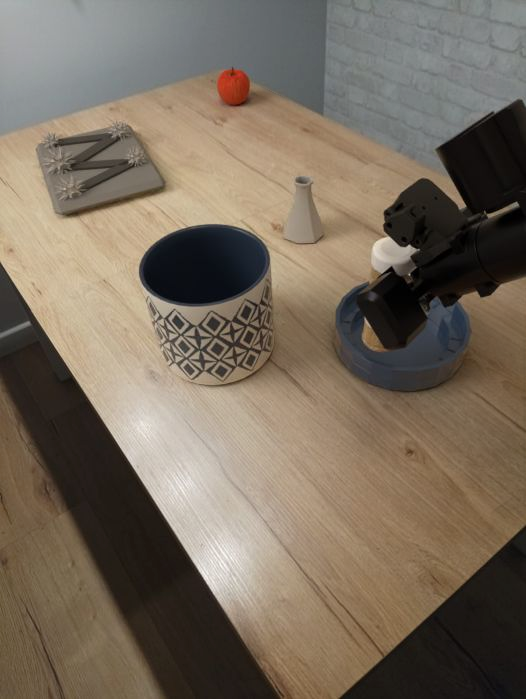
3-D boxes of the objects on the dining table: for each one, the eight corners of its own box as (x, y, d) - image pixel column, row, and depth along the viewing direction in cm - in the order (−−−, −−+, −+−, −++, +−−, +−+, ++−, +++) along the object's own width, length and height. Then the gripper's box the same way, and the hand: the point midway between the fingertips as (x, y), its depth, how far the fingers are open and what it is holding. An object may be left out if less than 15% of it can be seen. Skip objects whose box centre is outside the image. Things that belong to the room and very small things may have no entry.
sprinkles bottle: (357, 348, 61) (367, 256, 51) (367, 322, 64) (378, 231, 54) (395, 358, 60) (413, 265, 50) (404, 331, 62) (422, 239, 53)
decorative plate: (169, 191, 101) (162, 156, 95) (58, 221, 95) (44, 186, 90) (131, 131, 120) (123, 99, 114) (37, 153, 114) (24, 121, 109)
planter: (188, 406, 65) (166, 326, 55) (145, 330, 75) (120, 249, 64) (296, 357, 70) (295, 274, 59) (242, 291, 79) (233, 210, 69)
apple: (231, 93, 131) (228, 59, 125) (257, 99, 128) (255, 64, 122) (212, 104, 127) (207, 70, 121) (238, 111, 124) (234, 76, 118)
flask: (328, 223, 90) (331, 170, 83) (318, 248, 86) (319, 194, 78) (289, 218, 92) (288, 165, 85) (276, 241, 88) (274, 188, 80)
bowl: (490, 359, 68) (500, 335, 64) (385, 414, 63) (390, 391, 59) (405, 286, 78) (410, 262, 75) (309, 329, 73) (310, 305, 70)
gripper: (505, 127, 47) (388, 196, 61) (386, 217, 38) (281, 273, 52) (560, 232, 49) (435, 275, 62) (459, 340, 40) (340, 363, 54)
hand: (377, 293), depth 58 cm, fingers closed on sprinkles bottle, 4 cm apart
